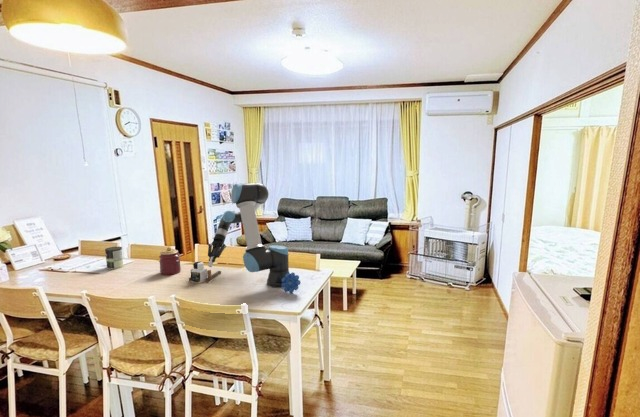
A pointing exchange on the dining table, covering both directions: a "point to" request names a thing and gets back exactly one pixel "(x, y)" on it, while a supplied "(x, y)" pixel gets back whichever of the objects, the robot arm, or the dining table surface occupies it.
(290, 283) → the grapes
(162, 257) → the canister
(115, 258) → the coffee can
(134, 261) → the dining table surface
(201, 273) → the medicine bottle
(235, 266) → the dining table surface
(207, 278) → the guide channel
